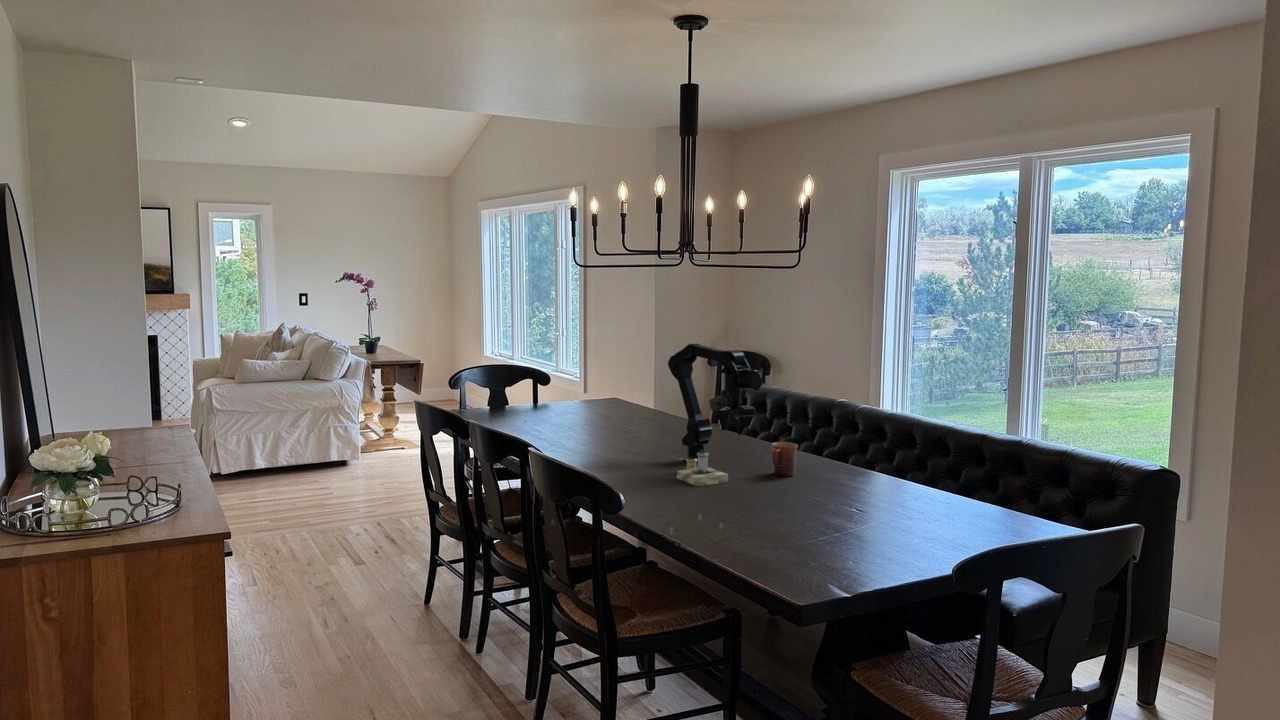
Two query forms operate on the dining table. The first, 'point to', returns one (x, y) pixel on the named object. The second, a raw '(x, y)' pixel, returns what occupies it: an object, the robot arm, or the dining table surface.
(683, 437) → the robot arm
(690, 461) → the short pin
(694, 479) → the socket board
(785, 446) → the mug
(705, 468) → the long pin
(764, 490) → the dining table surface
